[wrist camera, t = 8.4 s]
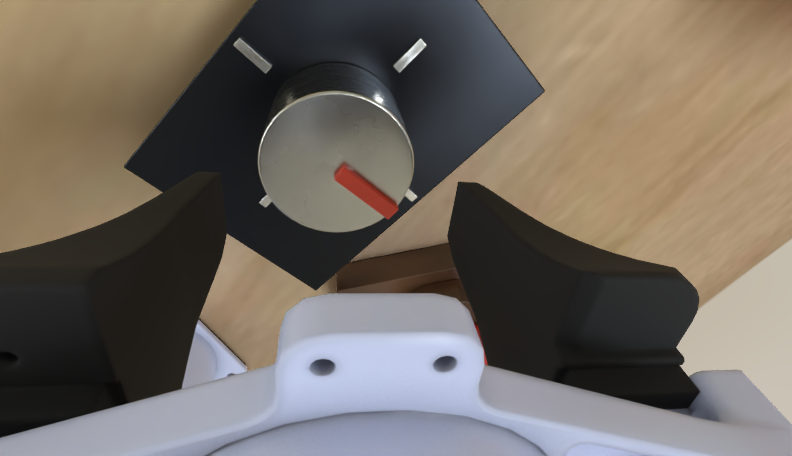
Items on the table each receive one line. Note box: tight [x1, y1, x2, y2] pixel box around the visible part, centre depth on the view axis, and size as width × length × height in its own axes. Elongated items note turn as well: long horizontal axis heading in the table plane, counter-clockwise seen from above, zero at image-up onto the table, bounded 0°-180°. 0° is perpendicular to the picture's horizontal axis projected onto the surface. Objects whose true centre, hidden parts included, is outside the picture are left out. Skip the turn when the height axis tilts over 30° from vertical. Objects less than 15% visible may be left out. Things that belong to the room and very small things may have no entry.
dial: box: [258, 63, 414, 232], centre depth 16 cm, size 5×5×4 cm
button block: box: [337, 244, 478, 325], centre depth 26 cm, size 11×8×4 cm
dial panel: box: [124, 0, 545, 290], centre depth 19 cm, size 14×10×3 cm
